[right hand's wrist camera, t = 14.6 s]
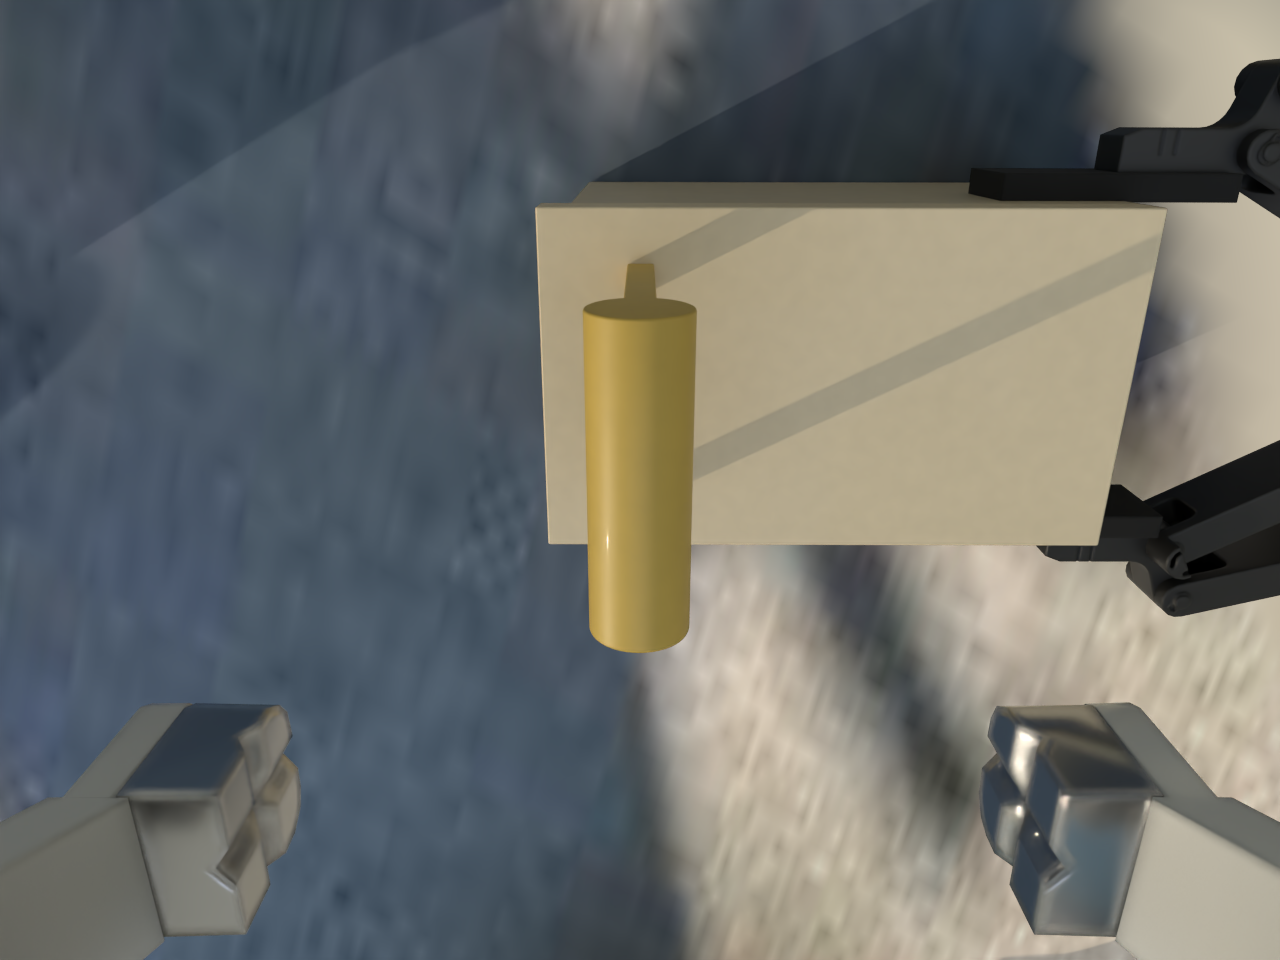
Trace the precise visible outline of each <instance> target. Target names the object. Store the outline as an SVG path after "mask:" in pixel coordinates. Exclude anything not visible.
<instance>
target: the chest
mask: <svg viewBox="0 0 1280 960" xmlns="http://www.w3.org/2000/svg"><path fill="white" fill-rule="evenodd" d="M968 191H969V183H896V182H589V183H588V184H587V186H586V187H585V188H584V189H583V190H582V191H581V193H580V194H579V195H578V196H577V197H576V198H575V199H574V201H573V202H572V203H704V204H1138V203H1132V202H1126V201H999V200H994V199H990V198H985V197H981V196H976V195H972V194H968Z"/></svg>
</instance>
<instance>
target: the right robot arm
mask: <svg viewBox="0 0 1280 960" xmlns="http://www.w3.org/2000/svg"><path fill="white" fill-rule="evenodd" d="M291 738H292V732H291V727H290V722H289V718H288V713H287V711H286V710H285V709H283V708H282V707H281V706H280V705H254V704H207V703H195V704H190V703H151V704H148V705H146V706H143V707H140V708H139V709H138V710H137V712H136V713H135V714H134V715H133V716H132V717H131V719H130V720H129V721H128V722H127V723H126V724H125V726H124V727H123V728H122V729H121V730H120V731H119V732H118V734H117V735H116V736H115V737H114V738H113V739H112V741H111V742H110V743H109V744H108V745H107V746H106V748H105V749H104V750H103V751H102V752H101V753H100V755H99V756H98V757H97V758H96V759H95V760H94V761H93V763H92V764H91V765H90V766H89V767H88V768H87V770H86V771H85V772H84V773H83V774H82V775H81V777H80V778H79V779H78V780H77V781H76V782H75V784H74V785H73V786H72V787H71V788H70V789H69V790H68V792H67V793H66V794H65V795H64V796H63V797H60V798H46V799H44V800H42V801H41V802H39V803H37V804H35V805H33V806H31V807H29V808H27V809H25V810H23V811H21V812H19V813H17V814H15V815H13V816H12V817H10V818H8V819H6V820H4V821H2V822H0V960H143V959H144V958H145V957H147V956H148V955H149V954H150V953H151V952H152V951H154V950H155V949H156V948H157V947H158V946H159V945H161V944H162V943H163V942H164V937H172V936H206V935H241V934H246V933H247V931H248V929H249V927H250V925H251V923H252V921H253V919H254V917H255V915H256V913H257V911H258V909H259V907H260V905H261V903H262V901H263V898H264V896H265V894H266V892H267V890H268V888H269V886H270V880H269V874H268V869H267V866H268V865H270V864H271V863H272V862H274V861H275V860H277V859H278V858H279V857H281V856H282V855H283V854H285V853H286V851H287V849H288V847H289V845H290V842H291V840H292V838H293V836H294V834H295V830H296V825H297V821H298V816H299V811H300V805H301V785H300V779H299V772H298V768H297V767H296V766H295V765H294V764H293V763H292V762H291V761H290V760H289V759H288V758H287V757H286V756H285V755H284V754H283V752H284V750H285V748H286V747H287V745H288V743H289V741H290V739H291ZM988 738H989V739H990V741H991V743H992V745H993V747H994V748H995V750H996V752H997V754H996V755H995V756H994V757H993V758H992V759H991V760H990V761H989V762H988V763H987V764H986V765H985V766H984V767H983V768H982V773H981V781H980V788H979V799H980V811H981V819H982V822H983V826H984V829H985V833H986V836H987V838H988V840H989V842H990V845H991V847H992V849H993V851H994V853H995V854H997V855H998V856H999V857H1001V858H1002V859H1003V860H1005V861H1006V862H1008V863H1009V864H1010V865H1012V866H1013V869H1012V874H1011V880H1010V886H1011V888H1012V890H1013V892H1014V894H1015V896H1016V898H1017V900H1018V902H1019V904H1020V907H1021V909H1022V911H1023V913H1024V915H1025V917H1026V919H1027V921H1028V923H1029V925H1030V927H1031V929H1032V931H1033V933H1034V934H1037V935H1072V936H1108V937H1116V940H1115V941H1116V942H1118V943H1119V944H1120V945H1121V946H1122V947H1123V948H1125V949H1126V950H1127V951H1128V952H1129V953H1130V954H1132V955H1133V956H1134V957H1135V958H1136V959H1137V960H1280V822H1278V821H1276V820H1274V819H1272V818H1270V817H1268V816H1266V815H1265V814H1263V813H1261V812H1259V811H1257V810H1255V809H1253V808H1251V807H1249V806H1247V805H1245V804H1243V803H1241V802H1239V801H1238V800H1236V799H1234V798H1220V797H1217V796H1216V795H1215V794H1214V793H1213V792H1212V790H1211V789H1210V788H1209V787H1208V786H1207V785H1206V784H1205V782H1204V781H1203V780H1202V779H1201V778H1200V777H1199V775H1198V774H1197V773H1196V772H1195V771H1194V770H1193V768H1192V767H1191V766H1190V765H1189V764H1188V763H1187V762H1186V760H1185V759H1184V758H1183V757H1182V756H1181V755H1180V753H1179V752H1178V751H1177V750H1176V749H1175V748H1174V746H1173V745H1172V744H1171V743H1170V742H1169V741H1168V740H1167V738H1166V737H1165V736H1164V735H1163V734H1162V733H1161V731H1160V730H1159V729H1158V728H1157V727H1156V726H1155V724H1154V723H1153V722H1152V721H1151V720H1150V719H1149V717H1148V716H1147V715H1146V714H1145V713H1144V712H1143V711H1142V709H1141V708H1139V707H1137V706H1135V705H1133V704H1131V703H1098V704H1085V705H1048V706H997V707H996V709H995V711H994V713H993V715H992V717H991V721H990V726H989V731H988Z"/></svg>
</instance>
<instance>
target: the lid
mask: <svg viewBox="0 0 1280 960" xmlns="http://www.w3.org/2000/svg"><path fill="white" fill-rule="evenodd" d="M535 211H536V236H537V262H538V287H539V312H540V338H541V363H542V388H543V414H544V439H545V465H546V490H547V515H548V541H549V544H588V577H589V623H590V631H591V633H592V635H593V636H594V637H595V639H596V640H598V641H599V642H600V643H602V644H603V645H605V646H607V647H610V648H612V649H615V650H619V651H624V652H632V653H647V652H655V651H660V650H663V649H667V648H669V647H672V646H674V645H676V644H677V643H679V642H680V641H681V640H682V639H683V638H684V637H685V636H686V634H687V632H688V630H689V611H690V571H691V544H752V545H1098V542H1099V537H1100V532H1101V527H1102V523H1103V518H1104V513H1105V508H1106V503H1107V499H1108V494H1109V489H1110V484H1111V479H1112V475H1113V470H1114V465H1115V460H1116V455H1117V451H1118V446H1119V441H1120V436H1121V431H1122V427H1123V422H1124V417H1125V412H1126V407H1127V403H1128V398H1129V393H1130V388H1131V383H1132V379H1133V374H1134V369H1135V364H1136V359H1137V355H1138V350H1139V345H1140V340H1141V335H1142V330H1143V326H1144V321H1145V316H1146V311H1147V306H1148V302H1149V297H1150V292H1151V287H1152V282H1153V278H1154V273H1155V268H1156V263H1157V258H1158V254H1159V249H1160V244H1161V239H1162V234H1163V230H1164V225H1165V220H1166V215H1167V208H1163V207H1157V206H1152V205H1146V204H704V203H541V204H539V205H538V206H537V207H536V209H535Z"/></svg>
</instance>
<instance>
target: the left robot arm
mask: <svg viewBox="0 0 1280 960" xmlns="http://www.w3.org/2000/svg"><path fill="white" fill-rule="evenodd" d="M1234 90H1235V96H1236V98H1235V100H1234V102H1233V103H1232V105H1231V107H1230V109H1229V110H1228V111H1227V113H1226V114H1225V115H1224V116H1223V117H1222V118H1221V119H1220V120H1219V121H1217V122H1216V123H1214V124H1213V125H1210V126H1207V127H1201V128H1134V127H1119V128H1116V129H1114V130H1111V131H1109V132H1106V133H1104V134H1101V135H1100V140H1099V145H1098V151H1097V157H1096V162H1095V168H1094V169H1057V168H971V175H970V183H969V191H968V194H972V195H976V196H981V197H985V198H990V199H994V200H999V201H1126V202H1224V203H1225V202H1226V203H1227V202H1228V203H1236V202H1237V199H1238V195H1239V192H1241V193H1242V194H1244V195H1245V196H1247V197H1248V198H1250V199H1251V200H1253V201H1254V202H1256V203H1257V204H1259V205H1260V206H1262V207H1263V208H1265V209H1266V210H1268V211H1270V212H1271V213H1273V214H1274V215H1276V216H1277V217H1279V218H1280V59H1272V60H1262V61H1256V62H1253V63H1250V64H1249V65H1247V66H1246V67H1245V68H1244V69H1242V71H1241V72H1240V74H1239V75H1238V77H1237V78H1236V82H1235V86H1234ZM1036 546H1037V547H1038V548H1039V549H1040V550H1041V551H1042V552H1043V554H1044V555H1045V556H1047V557H1050V558H1052V559H1055V560H1058V561H1129V562H1128V564H1127V565H1126V574H1127V577H1128V578H1129V579H1130V580H1131V581H1133V582H1134V583H1135V584H1136V585H1137V587H1139V588H1140V589H1141V590H1142V591H1143V592H1144V593H1145V594H1146V595H1147V596H1148V597H1149V598H1150V599H1151V600H1152V601H1153V602H1154V603H1156V604H1157V605H1158V606H1159V607H1160V608H1161V609H1162V610H1163V611H1165V612H1166V613H1167V614H1168V615H1170V616H1173V617H1178V616H1185V615H1190V614H1194V613H1199V612H1204V611H1208V610H1213V609H1218V608H1222V607H1227V606H1232V605H1236V604H1241V603H1246V602H1250V601H1255V600H1260V599H1264V598H1269V597H1274V596H1278V595H1280V440H1279V441H1277V442H1275V443H1272V444H1270V445H1268V446H1266V447H1263V448H1261V449H1259V450H1257V451H1254V452H1252V453H1250V454H1248V455H1245V456H1243V457H1241V458H1239V459H1236V460H1234V461H1232V462H1230V463H1227V464H1225V465H1223V466H1221V467H1219V468H1216V469H1214V470H1212V471H1210V472H1207V473H1205V474H1203V475H1201V476H1198V477H1196V478H1194V479H1192V480H1189V481H1187V482H1185V483H1183V484H1180V485H1178V486H1176V487H1174V488H1172V489H1169V490H1167V491H1165V492H1163V493H1160V494H1158V495H1156V496H1154V497H1151V498H1149V499H1147V500H1145V501H1142V500H1140V499H1139V498H1138V497H1136V496H1135V495H1134V494H1133V493H1131V492H1130V491H1129V490H1127V489H1126V488H1125V487H1123V486H1122V485H1110V489H1109V494H1108V499H1107V503H1106V508H1105V513H1104V518H1103V523H1102V527H1101V532H1100V537H1099V542H1098V545H1036Z"/></svg>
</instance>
